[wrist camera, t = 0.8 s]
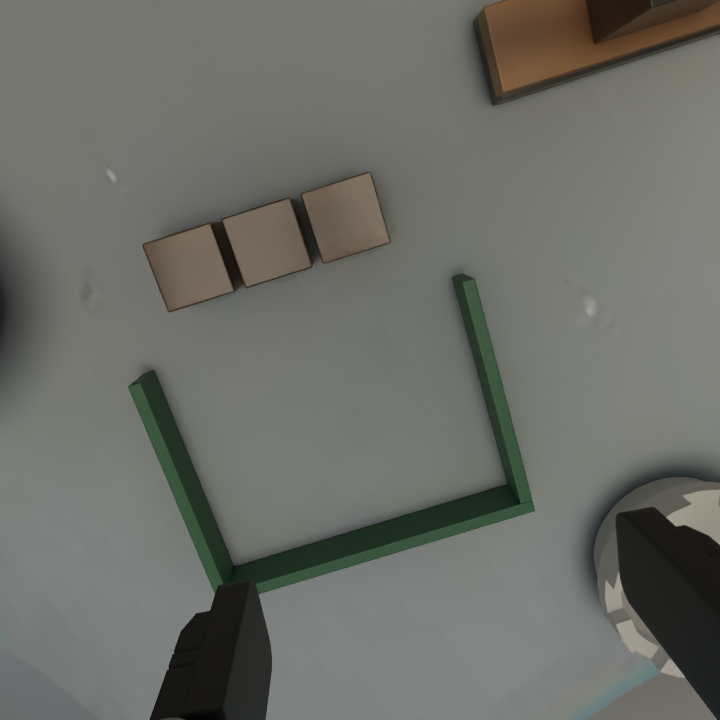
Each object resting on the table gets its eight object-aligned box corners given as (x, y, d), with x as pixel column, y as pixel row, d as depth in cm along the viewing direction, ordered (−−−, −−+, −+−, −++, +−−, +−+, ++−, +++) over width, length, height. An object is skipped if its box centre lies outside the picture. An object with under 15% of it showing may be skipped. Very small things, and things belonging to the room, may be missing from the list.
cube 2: (232, 218, 37) (220, 218, 33) (294, 198, 37) (290, 196, 33) (254, 280, 38) (245, 288, 34) (314, 261, 38) (312, 267, 34)
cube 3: (303, 195, 37) (300, 193, 33) (366, 175, 37) (370, 171, 33) (324, 258, 38) (323, 264, 34) (384, 239, 38) (391, 242, 34)
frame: (142, 373, 39) (127, 386, 36) (463, 273, 39) (474, 278, 36) (227, 579, 43) (219, 606, 40) (521, 490, 42) (535, 511, 39)
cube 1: (161, 241, 37) (141, 244, 33) (222, 221, 37) (210, 222, 33) (184, 302, 38) (168, 312, 34) (245, 283, 38) (235, 291, 34)
